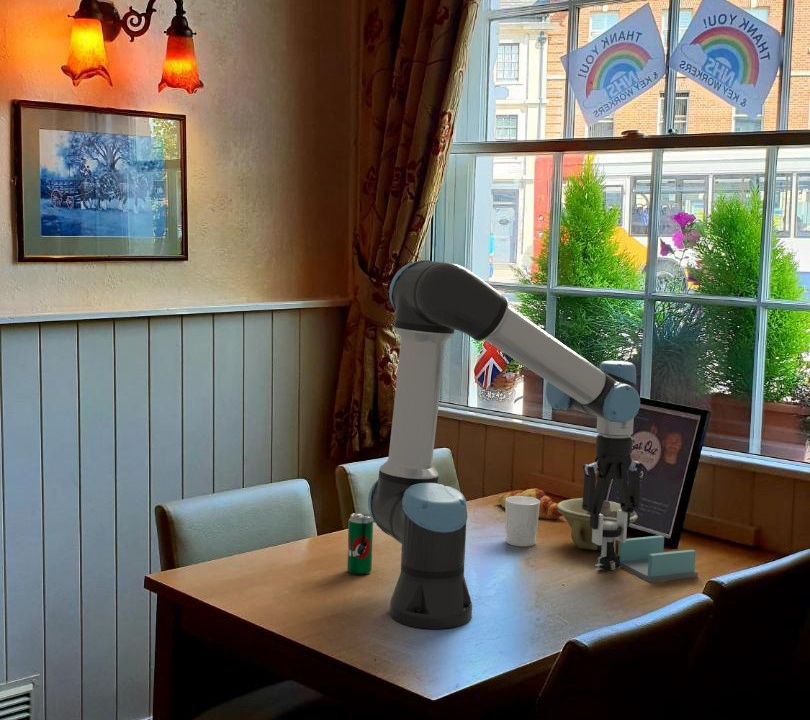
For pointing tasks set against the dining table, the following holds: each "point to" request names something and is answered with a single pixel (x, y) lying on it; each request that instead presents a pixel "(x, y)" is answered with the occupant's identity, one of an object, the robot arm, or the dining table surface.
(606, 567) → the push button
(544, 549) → the dining table surface
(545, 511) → the croissant
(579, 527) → the bowl
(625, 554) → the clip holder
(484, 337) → the robot arm
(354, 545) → the soda can
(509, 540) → the white cup
